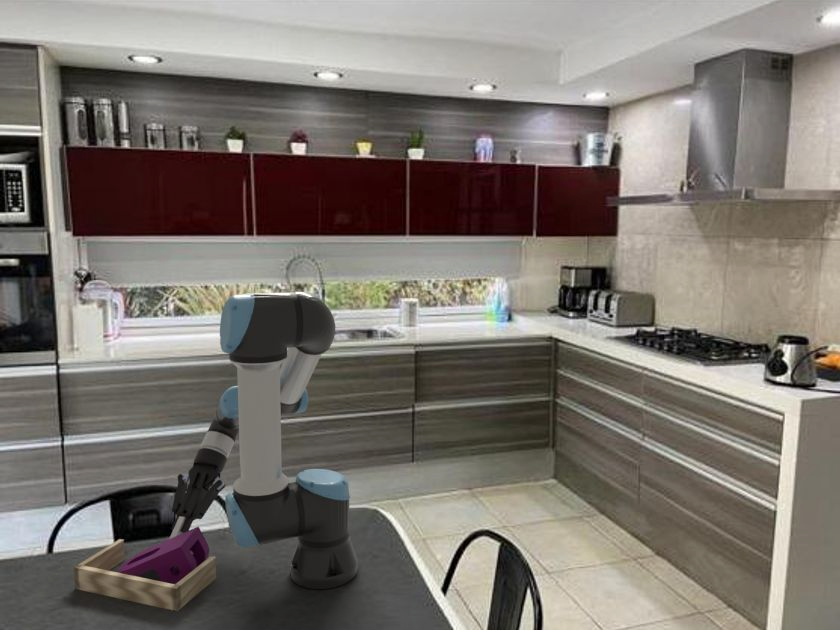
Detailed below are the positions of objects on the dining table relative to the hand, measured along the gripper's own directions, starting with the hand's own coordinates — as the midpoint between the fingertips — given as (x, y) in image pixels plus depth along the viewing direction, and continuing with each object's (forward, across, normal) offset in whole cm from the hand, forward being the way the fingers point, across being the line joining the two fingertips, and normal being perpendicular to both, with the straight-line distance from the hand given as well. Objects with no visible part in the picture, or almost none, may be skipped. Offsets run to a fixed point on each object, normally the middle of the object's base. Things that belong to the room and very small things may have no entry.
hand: (172, 545), depth 149 cm
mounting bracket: (+7, -1, 0) cm, 7 cm away
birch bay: (+10, -1, +4) cm, 10 cm away
